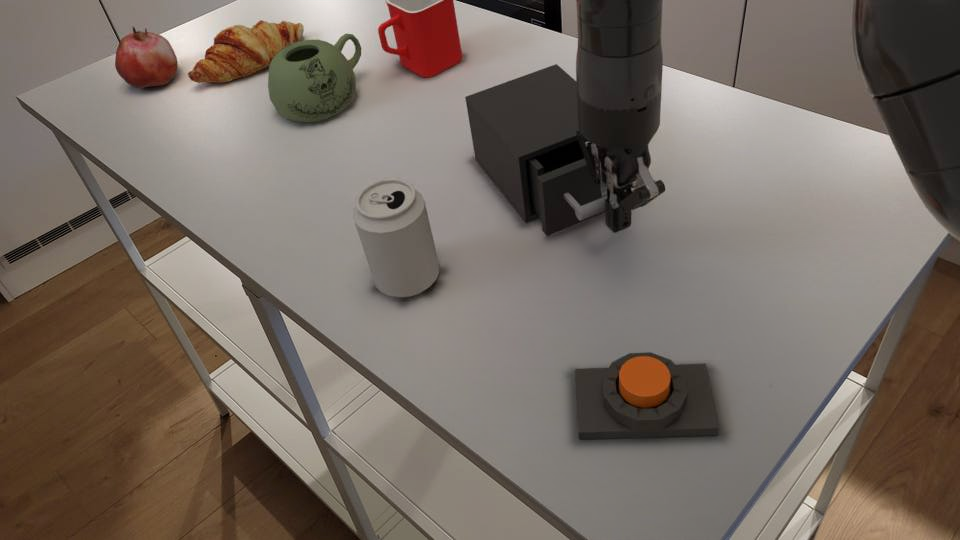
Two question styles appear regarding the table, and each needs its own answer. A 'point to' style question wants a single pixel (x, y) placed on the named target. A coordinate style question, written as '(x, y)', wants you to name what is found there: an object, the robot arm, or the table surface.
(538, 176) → the small dark drawer
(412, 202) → the can
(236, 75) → the croissant
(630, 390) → the button
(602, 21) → the robot arm
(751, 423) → the table surface
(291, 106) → the mug
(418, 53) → the mug
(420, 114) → the table surface
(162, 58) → the fruit
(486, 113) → the black drawer cabinet
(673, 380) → the control block
